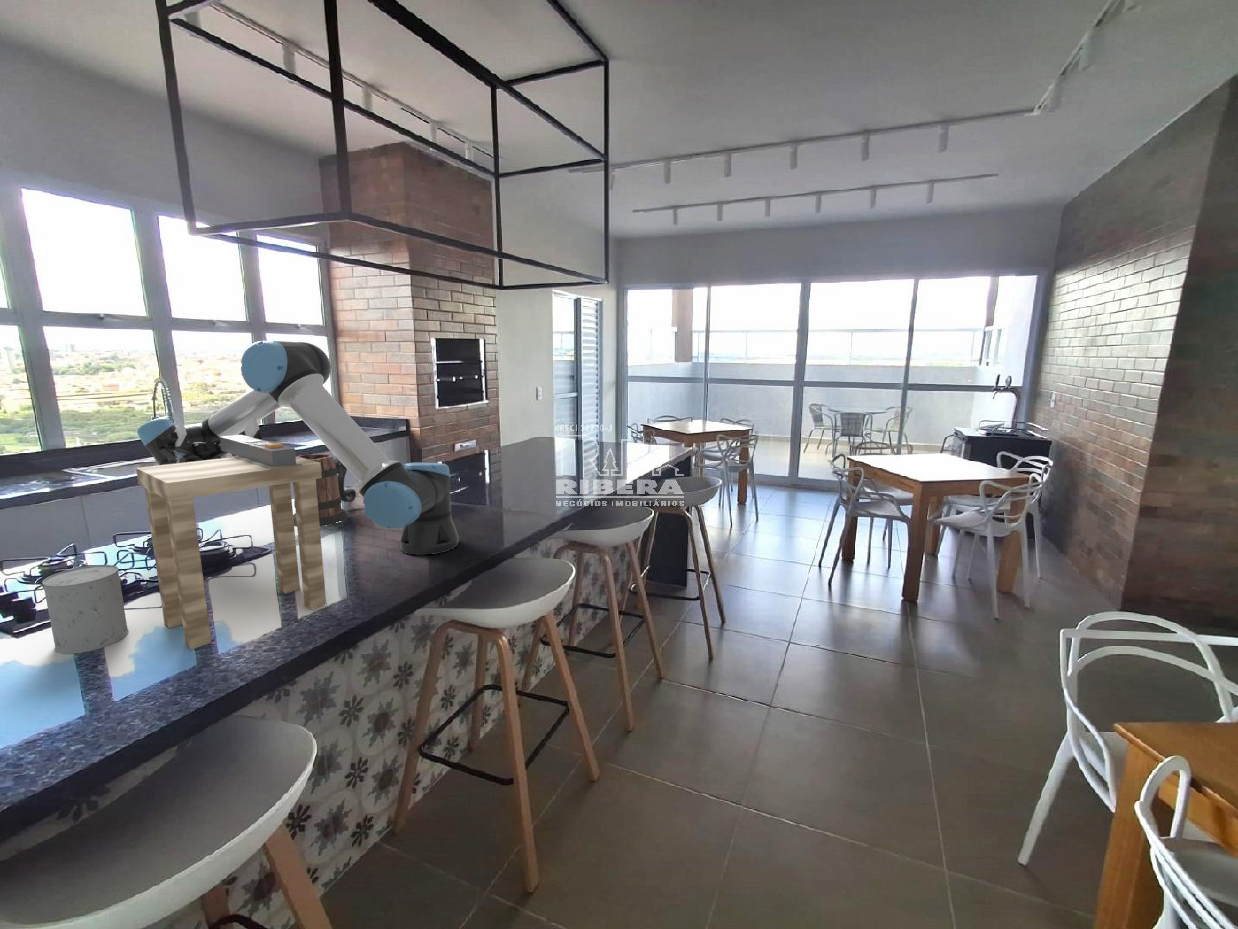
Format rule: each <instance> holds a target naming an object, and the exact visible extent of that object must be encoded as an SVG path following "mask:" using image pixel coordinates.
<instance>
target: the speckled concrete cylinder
mask: <svg viewBox="0 0 1238 929" xmlns="http://www.w3.org/2000/svg"><path fill="white" fill-rule="evenodd" d="M41 583H42V586H43V589H44V595H45V601H46V605H47V606H46V607H47V610H48V617H49V622H50V626H51V632H52V633H51V634H52V638H53V643H54V651H55V652H56V653H58V654H64V655H71V654H74V655H75V654H80V653H81V654H82V653H87V652H92V651H95V650H99V649H103V648H106V647H108V646H111V645H113V644H115V643H118V642H119V641H121V640H123V639H124V638H125V637H127V635H128V634H129V629H128V624H127V618H126V612H125V604H124V599H123V592H122V587H121V580H120V573H119V567H118V566H116V565H114V564H113V565H112V564H95V565H87V566H81V567H80V566H79V567H76V568H71V569H66V570H64V571H60V572H57V573H55V574H51V575H50V576H47V577H45V578H44V579H43V580H42V582H41Z"/></svg>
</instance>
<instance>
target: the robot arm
mask: <svg viewBox="0 0 1238 929" xmlns="http://www.w3.org/2000/svg"><path fill="white" fill-rule="evenodd" d="M240 363H241V367H240V372H241V375H242V378H243V381H244V382H245V384H246V385H247V386H248V387H249V388H250V390H248V391H247V392H244V394H242V395H241V396H239V397H237V398H236V399H234V400H233V401H231V402H230V403H229V404H227V405H225V406H224V407H222V408H221V409H219V410H218V411H217V412H215V413H213V414H212V415H210V416H209V417H208V418H206V419H205V420H203V421H202V422H199V423H192V424H191V423H190V424H185V423H184V422H182V421H181V422H178V424H177V425H175V423H174V422H173V421H172V420H171V419H169V418H166V417H158V418H155V419H152V420H149V421H147V422H145V423H144V424H142V425H140V427H139V428H138V429H137V432H136V433H137V435H138V437H139V440H141V442H142V444H143V446H144V447H145V449H147V450H148V452H149V453H150V455H151V456H152V457H153V459H154V460H155V461H156V463H157V464H158V465H167V464H177V463H186V462H195V461H204V460H213V459H222V457H223V456H225V455H226V454H229V453H228V452H224V451H221V442H220V437H221V436H233V435H244V436H248V437H252V438H256V439H260V440H263V435H262V433H261V430H260V427H259V424H258V423H259V421H262V420H263V419H265V418H266V417H268V416H269V415H271V414H272V413H274V412H275V411H277V410H278V409H281V407H282V408H291V409H292V410H293V411H294V413H296V415H297V416H298V417H299V418H300V419H301V420H302V421H303V422H304V423H305V425H307V427H308V428H309V429H310V430H311V431H312V432H313V433H314V434H315V436H316V437H317V438H318V439H319V440H320V441H321V442H322V443H323V444H324V446H326V447H327V449H328V450H329V451H330V452H331V454H333V455H334V456H335V457H336V458H338V460H339V461H340V462H341V463H342V464H343V465H344V466H345V467H346V468H347V471H348V472H349V473H350V474H351V475H352V476H353V477H354V479H356V481H358V484H359V485H358V493H359V494H360V495H361V497H363V500H362V504H363V505H364V507H363V509H364V512H365V514H366V516H367V517H368V518H369V520H370V521H371V522H372V523H374V524H376V525H377V526H378V527H381V528H385V529H390V530H391V529H392V530H393V529H394V530H395V529H399V528H403V529H402V532H401V537H400V539H399V548H400V549H401V550H400V551H401V552H402V551H403V552H402V553H404V552H407V553H409V554H408V555H411V554H416V555H415V556H424V555H423V554H432V553H437V552H443V551H446V550H449V549H451V548H453V547H454V546H457V545H458V543H459V544H460V539H459V538H460V537H459V534H458V531H457V527H456V526H455V523H454V521H453V517H452V499H451V498H452V497H451V496H452V495H451V475H450V468H449V466H448V465H447V464H446V463H440V462H408V463H407V462H406V463H404V464H403V463H401V461H399V460H391V459H389V458H388V456H387V455H386V454H384V452H383V451H382V450H381V449H380V448H379V446H377V445H376V443H375V442H374V441H373V440H372V439H371V438H370V437H369V435H368V434H367V433H366V432H365V431H364V430H363V429H362V428H361V427H360V425H359V424H357V422H356V421H355V420H354V419H353V418H352V417H351V416H350V415H349V413H348V412H347V411H346V410H345V409H344V408H343V406H341V405H340V404H339V402H338V401H337V400H336V399H335V398H334V396H332V395H331V394H330V392H329V391H328V390H327V389H326V388H325V386H324V384H325V383H326V382H327V381H328V379H329V378H330V375H331V369H332V366H331V362H330V359H329V357H328V354H326V353H325V351H323V349H321V348H320V347H319V346H316V345H315V344H313V343H310V342H302V341H283V340H275V339H272V340H271V339H268V340H261V341H256V342H253V343H251V344H250V345H249V346H248V347H246V349H245V350H244V353H243V354H242V357H241V360H240ZM231 456H232V457H235V456H237V455H234V454H231ZM458 546H459V545H458ZM417 554H418V555H417Z"/></svg>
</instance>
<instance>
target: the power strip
mask: <svg viewBox="0 0 1238 929" xmlns="http://www.w3.org/2000/svg"><path fill="white" fill-rule="evenodd" d="M220 442H221V451H224V452H228V453H227V454H231V455H232V454H234V455H236V456H240V457H243V458H247V459H250V460H253V461H256V462H259V463H262V464H265V465H269V466H272V467H277V466H285V465H292V464H296V456H297V454H296V448H294V447H292V446H291V447H290V446H286V445H284V444H283V443H281V442H271V441H267V440H260V439H256V438H252V437H248V436H244V435H233V436H221V437H220Z"/></svg>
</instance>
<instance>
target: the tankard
mask: <svg viewBox="0 0 1238 929" xmlns="http://www.w3.org/2000/svg"><path fill="white" fill-rule="evenodd" d="M296 456H297V457H301V458H305V459H308V460H312V461H316V462H319V463H321V475H322V478H317V479H316V488H317V500H318V512H319V524H320V527H325V525H327V526H331V525H330V524H333V525H335V524H334V523H336V522H339V521H343V522H345V521H347V520H348V519H349V518H350V517H349V516H350V514H349V513H347V511H346V510H345V509H343V508H342V507H343V506H342V502H344V503H353V502H354V501H355V500H356V497H357V492H356V490H355V489H353V488H347V489H345V477H346V475H347V471H348V469H347V468H346V467H345V466H344V465H343V464H342V463H341V462H340V461H339V460H338V458H337V457H336V458H334V456H333V455H332V454H329V453H327V454H325V453H321V454H319V453H318V454H302V455H301V454H300V455H296ZM293 503H294V504H293V505H294V508H295V500H294V502H293ZM348 517H349V518H348ZM347 518H348V519H347ZM293 519H294V527H295V528H297V520H296V512H295V513H293ZM346 519H347V520H346Z"/></svg>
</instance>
